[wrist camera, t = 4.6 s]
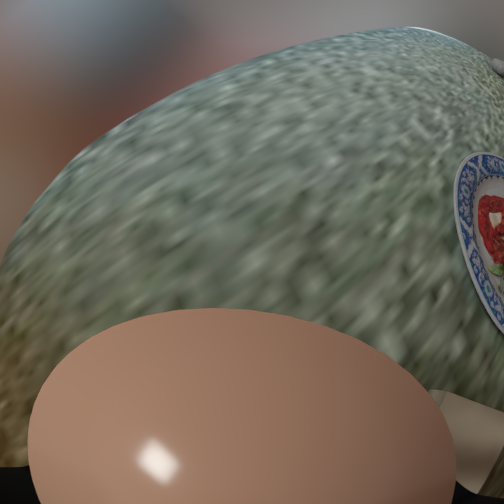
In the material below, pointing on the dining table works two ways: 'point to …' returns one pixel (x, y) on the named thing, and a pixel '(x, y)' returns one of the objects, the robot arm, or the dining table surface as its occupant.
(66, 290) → the dining table surface
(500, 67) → the garlic
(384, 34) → the dining table surface
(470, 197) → the ceramic plate
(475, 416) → the base block
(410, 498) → the jar
